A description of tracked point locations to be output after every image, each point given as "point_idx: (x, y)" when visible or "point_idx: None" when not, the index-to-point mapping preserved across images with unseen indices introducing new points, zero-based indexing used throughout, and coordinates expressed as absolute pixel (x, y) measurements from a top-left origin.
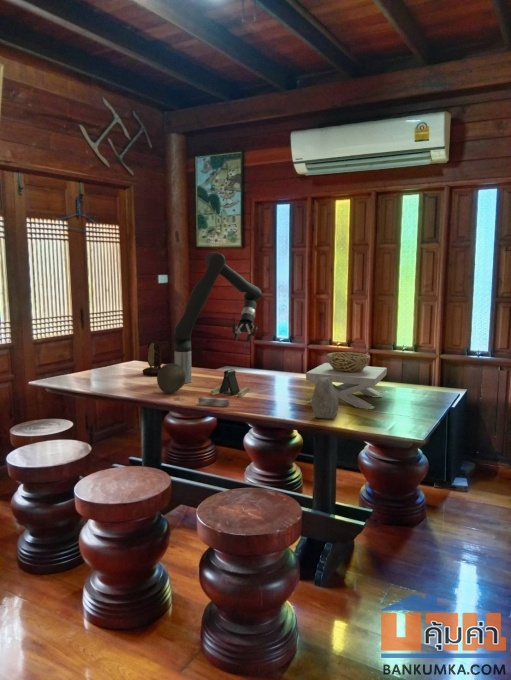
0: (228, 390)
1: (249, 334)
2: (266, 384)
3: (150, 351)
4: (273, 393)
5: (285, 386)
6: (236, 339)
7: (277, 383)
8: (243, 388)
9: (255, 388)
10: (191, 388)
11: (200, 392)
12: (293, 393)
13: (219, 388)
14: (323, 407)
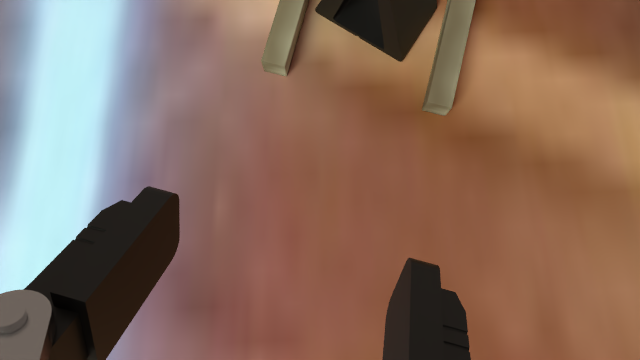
0: (385, 46)
1: (44, 306)
2: None
3: None
4: (127, 20)
5: (22, 213)
6: (400, 284)
7: None
8: (296, 27)
9: (222, 145)
10: (618, 130)
11: (543, 28)
12: (13, 24)
13: (442, 37)
14: None
